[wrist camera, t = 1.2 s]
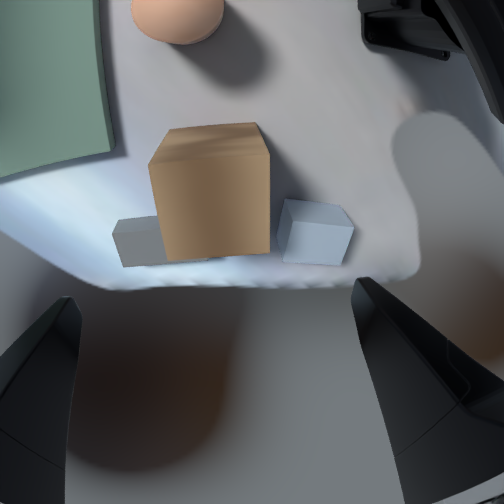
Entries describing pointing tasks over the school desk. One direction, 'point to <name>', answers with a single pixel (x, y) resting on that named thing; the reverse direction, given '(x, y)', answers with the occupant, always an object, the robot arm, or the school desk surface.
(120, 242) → the gray rectangular block
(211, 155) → the walnut block
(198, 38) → the peach rounded cylinder
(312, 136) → the school desk surface
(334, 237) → the eraser block
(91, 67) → the mat
